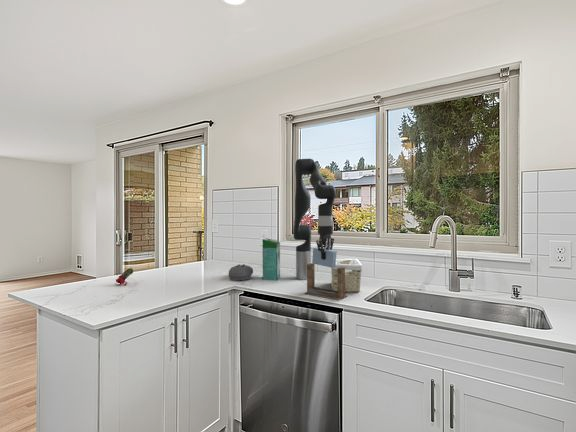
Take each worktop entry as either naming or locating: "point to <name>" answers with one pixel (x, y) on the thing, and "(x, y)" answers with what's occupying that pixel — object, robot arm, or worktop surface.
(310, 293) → the wooden u-shaped rack
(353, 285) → the storage basket
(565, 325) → the worktop surface
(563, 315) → the worktop surface
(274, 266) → the milk carton
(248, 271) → the grey rounded bag
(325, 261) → the light blue block
